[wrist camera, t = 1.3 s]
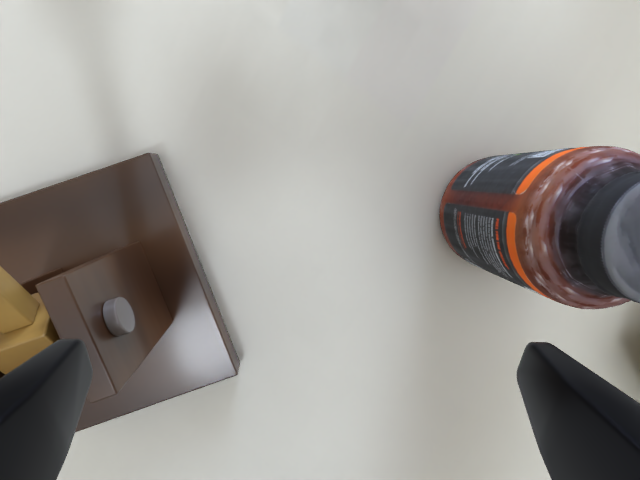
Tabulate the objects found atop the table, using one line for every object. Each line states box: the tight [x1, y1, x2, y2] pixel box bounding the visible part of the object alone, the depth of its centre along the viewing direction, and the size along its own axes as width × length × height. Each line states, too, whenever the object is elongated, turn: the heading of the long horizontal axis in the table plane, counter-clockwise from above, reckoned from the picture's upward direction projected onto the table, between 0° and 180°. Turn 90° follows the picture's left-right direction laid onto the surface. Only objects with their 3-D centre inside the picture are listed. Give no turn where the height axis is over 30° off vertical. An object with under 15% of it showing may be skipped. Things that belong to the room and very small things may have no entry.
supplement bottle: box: [440, 146, 640, 309], centre depth 18 cm, size 6×6×11 cm
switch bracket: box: [0, 153, 240, 432], centre depth 19 cm, size 12×9×9 cm
